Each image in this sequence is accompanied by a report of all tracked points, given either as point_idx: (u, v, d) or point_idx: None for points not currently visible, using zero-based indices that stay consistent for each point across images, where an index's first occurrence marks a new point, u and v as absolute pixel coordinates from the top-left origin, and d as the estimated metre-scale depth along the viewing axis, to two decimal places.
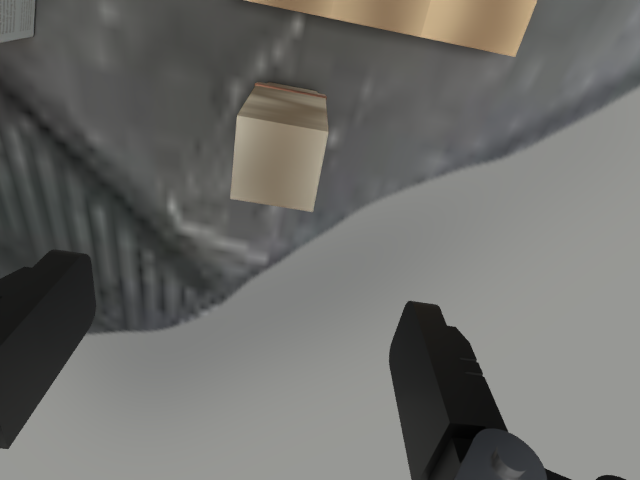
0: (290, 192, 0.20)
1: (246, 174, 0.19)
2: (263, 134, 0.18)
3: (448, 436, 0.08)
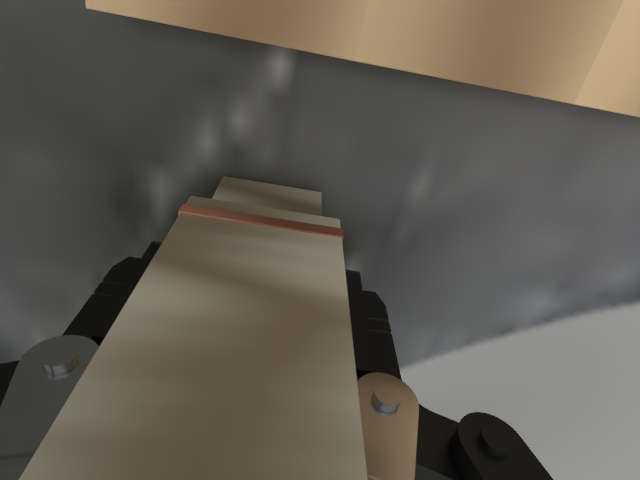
0: None
1: None
2: None
3: None
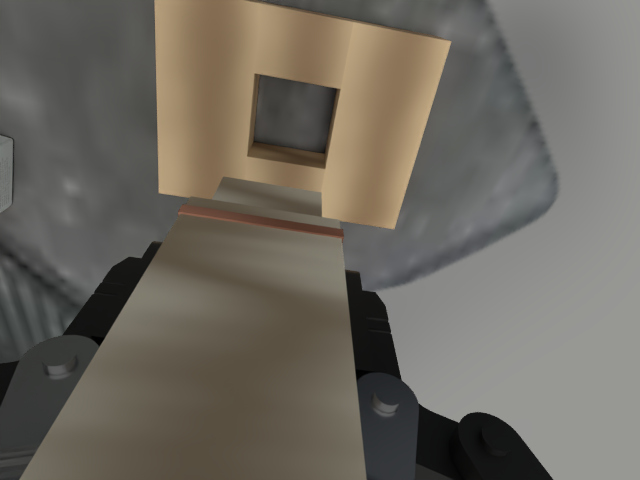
0: None
1: None
2: None
3: None
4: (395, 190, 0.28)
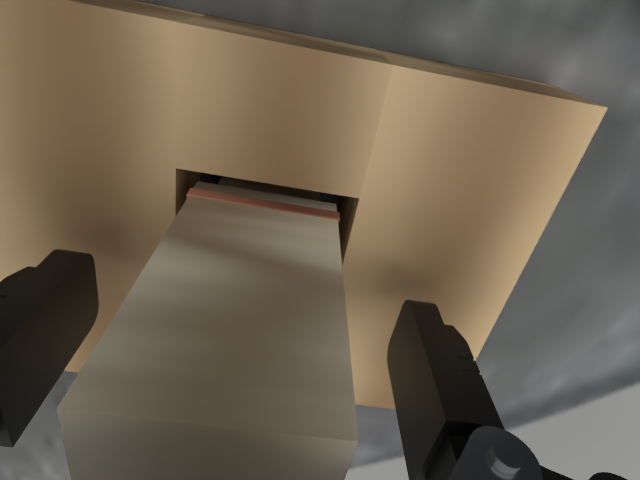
0: None
1: None
2: (154, 446, 0.06)
3: (445, 433, 0.08)
4: None
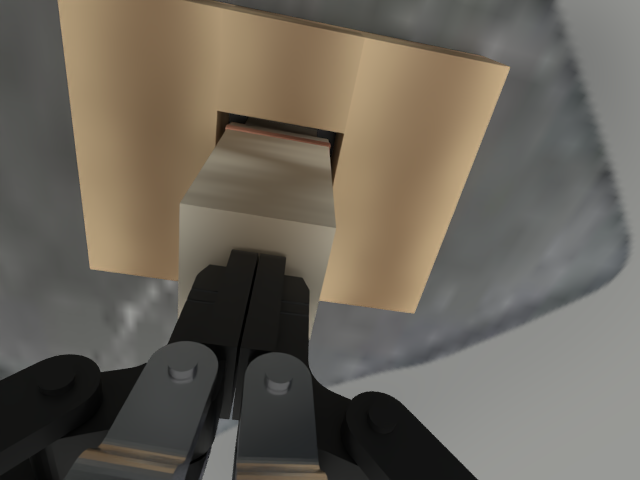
0: None
1: None
2: (226, 231, 0.11)
3: (244, 361, 0.08)
4: (418, 266, 0.20)
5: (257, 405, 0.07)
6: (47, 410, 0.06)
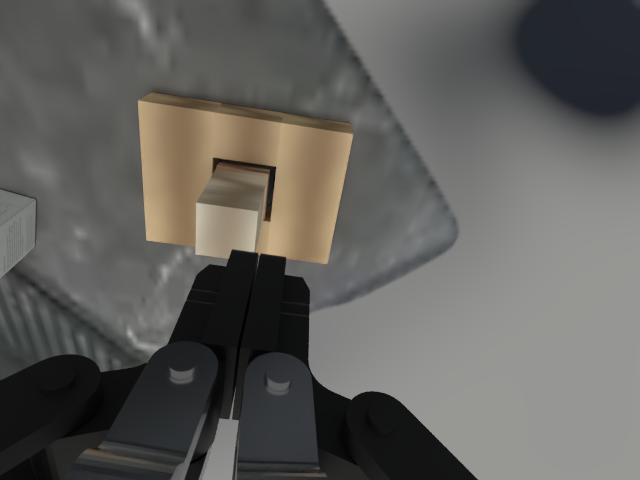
0: (236, 249, 0.29)
1: (205, 238, 0.28)
2: (214, 213, 0.27)
3: (244, 362, 0.08)
4: (324, 235, 0.36)
5: (257, 405, 0.07)
6: (47, 410, 0.06)
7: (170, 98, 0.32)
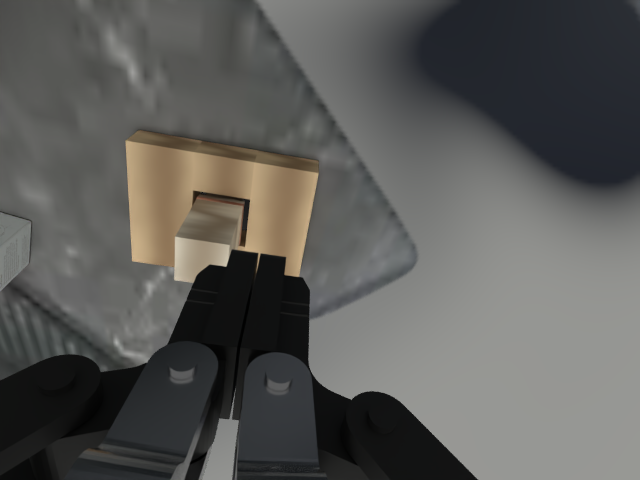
0: None
1: (183, 267, 0.32)
2: (191, 246, 0.31)
3: (244, 362, 0.08)
4: (294, 259, 0.40)
5: (257, 405, 0.07)
6: (47, 410, 0.06)
7: (155, 137, 0.36)
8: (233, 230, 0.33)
